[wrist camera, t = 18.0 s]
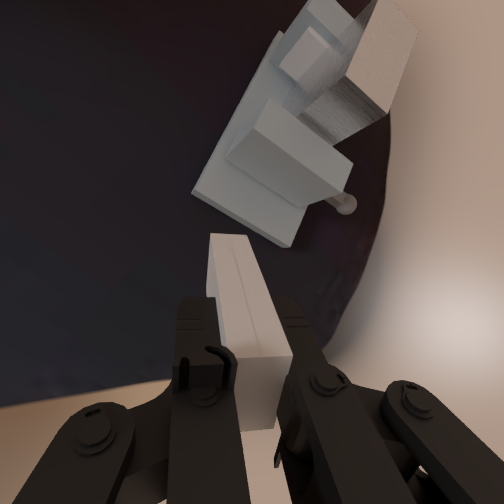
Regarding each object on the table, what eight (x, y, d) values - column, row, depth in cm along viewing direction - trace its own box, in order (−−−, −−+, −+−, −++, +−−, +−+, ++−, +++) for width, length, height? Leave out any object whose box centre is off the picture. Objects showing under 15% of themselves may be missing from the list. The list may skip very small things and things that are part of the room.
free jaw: (224, 158, 28) (253, 128, 22) (239, 128, 29) (271, 91, 23) (327, 227, 32) (374, 217, 26) (338, 199, 33) (386, 183, 27)
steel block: (261, 146, 30) (345, 75, 19) (291, 85, 32) (382, -11, 21) (292, 168, 31) (387, 114, 20) (319, 109, 33) (419, 30, 22)
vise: (191, 193, 28) (218, 165, 21) (274, 36, 33) (321, -34, 26) (292, 253, 32) (345, 248, 25) (353, 106, 37) (414, 64, 30)
